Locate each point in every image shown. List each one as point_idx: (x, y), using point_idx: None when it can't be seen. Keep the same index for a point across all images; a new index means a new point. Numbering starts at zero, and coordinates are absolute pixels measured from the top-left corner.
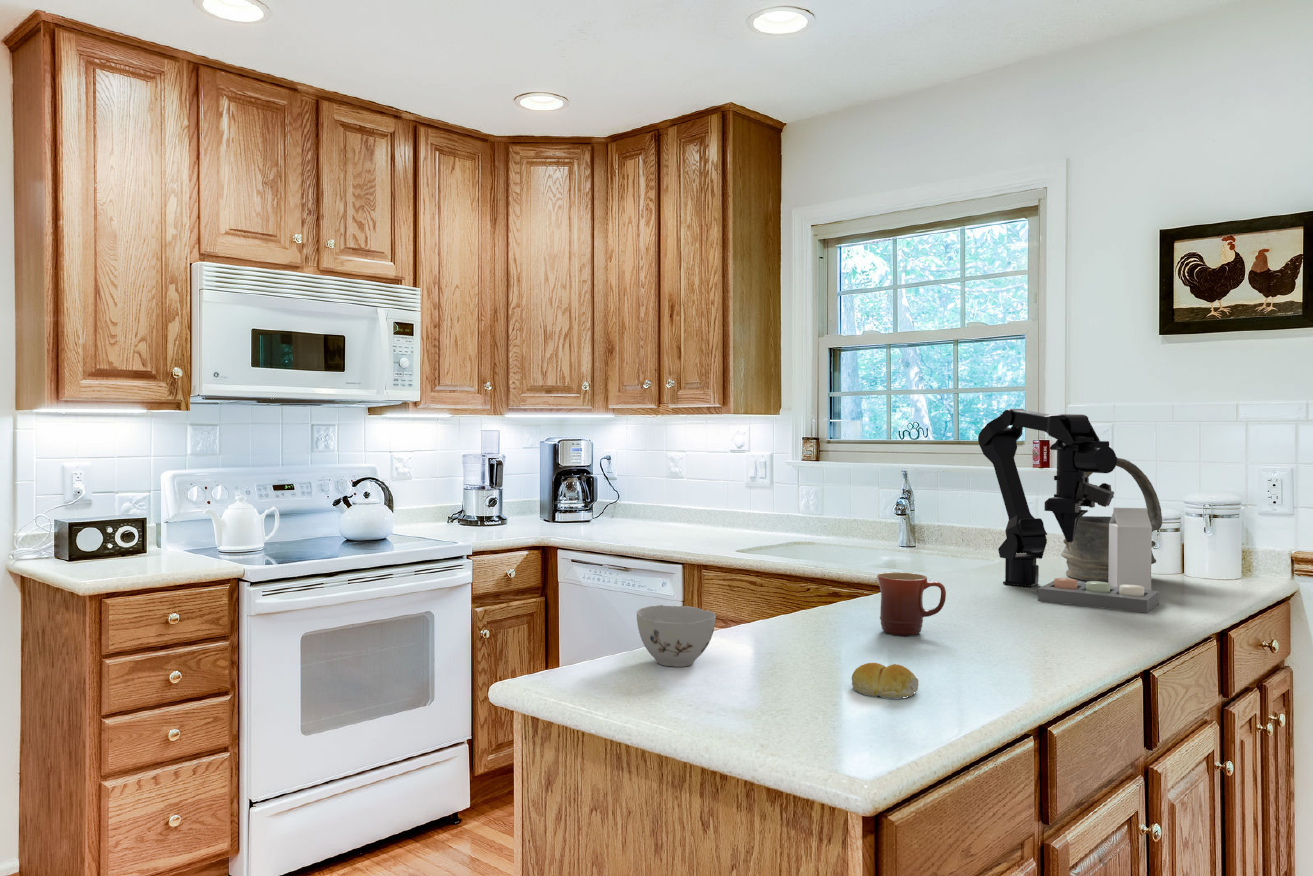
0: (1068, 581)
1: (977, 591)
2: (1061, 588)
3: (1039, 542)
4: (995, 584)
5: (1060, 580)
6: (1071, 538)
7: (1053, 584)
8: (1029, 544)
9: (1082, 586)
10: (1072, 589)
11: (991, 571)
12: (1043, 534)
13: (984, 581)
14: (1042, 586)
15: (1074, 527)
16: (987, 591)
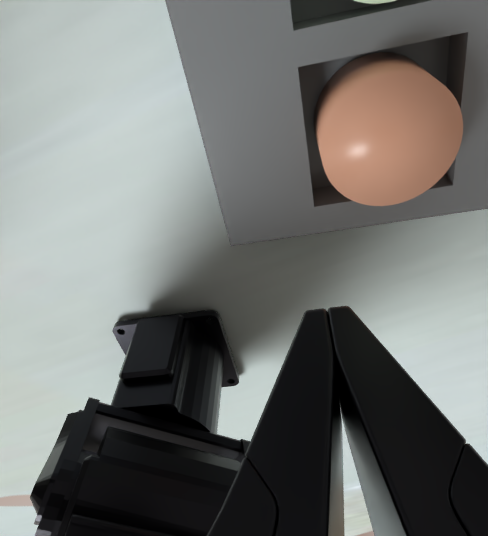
0: (455, 103)
1: (435, 374)
2: (479, 114)
3: (143, 477)
4: (251, 389)
5: (440, 155)
6: (370, 336)
7: None
8: (214, 484)
9: (311, 58)
10: (482, 47)
11: (46, 461)
12: (103, 525)
13: (226, 421)
14: (469, 209)
15: (449, 450)
16: (412, 359)
